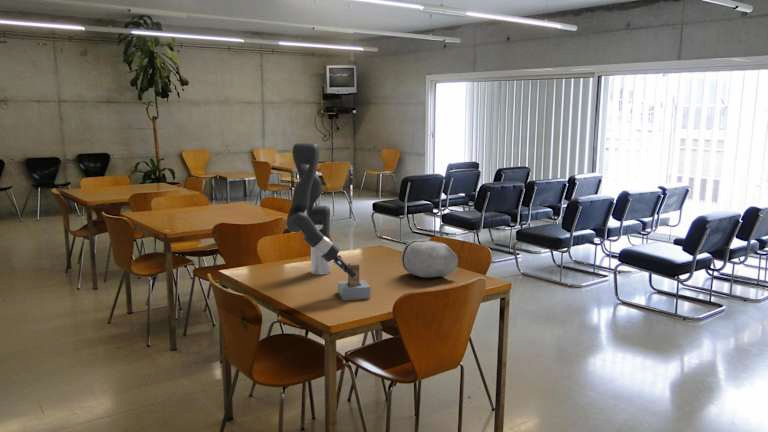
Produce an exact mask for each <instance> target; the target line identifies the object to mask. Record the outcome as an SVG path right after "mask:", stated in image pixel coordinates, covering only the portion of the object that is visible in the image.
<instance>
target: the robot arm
mask: <svg viewBox="0 0 768 432" xmlns="http://www.w3.org/2000/svg"><path fill="white" fill-rule="evenodd" d="M319 159H320V148H319V145H318V144H317V143H307V142H305V143H304V142H298V143H295V144H293V147H292V160H293V162H294V165H295V168H296V171H297V173H298V177H299V181H298V182H297V183H296V185H295V187H294V189H293V193H292V200H291V206H290V208H289V210H288V214H287V216H286V217H287V218H286V227H287V230H288V231H290V232H292V233H298V232H302V233H303V239H304V241H305V242H306V243H307V244H308V245H309V246H310V273H311V274H312V275H317V276H318V275H319V276H320V275H321V276H322V275H328V274H331V271H330V270H331V265H330V264H331V262H333V264H334V265H336V266H338V268H340V270H343V272H344V273H346V274H347V275H348V274H349V275H350V276H351V277H352V278H353V277H354V276H355V275H356V274H355V273H354V272H353V271H352V270H351V269H350V267H348V263H347V262H346V261H345V259H344V258H343V257H342V256H341V255H340V254H339V253H340V248H339V247H338V246H337V245H335V243H333V242H332V241H331V233H330V231H331V230H330V229H331V209H330V207H329V206H328V205H315V203H316V202H317V201H318V199H320V197H321V196H322V193H323V186H322V181H321V178H320V177H319V176H318V174H317V173H316V172H317V168H318V166H319V165H318V164H319V161H320V160H319ZM305 212H306V213H305ZM316 225H317V226H322V228H320V229H317V227H316Z"/></svg>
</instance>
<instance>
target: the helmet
mask: <svg viewBox="0 0 768 432" xmlns="http://www.w3.org/2000/svg"><path fill="white" fill-rule="evenodd" d="M458 263H459V258H458V255H457V254H456V253H455V252H454V251H453V249H451V247H450V246H448V245H447V244H445V242H440V241H435V240H428V239H415V240H410V241H409V242H408V243H407V244H406V245H405V246H404V248H403V250H402V253H401V264H402V268H403V269H404V270H405V272H407V273H408V274H411V275H413V276H415V277H416V276H417V277H421V278H425V279H426V278H435V277H439V278H440V277H441V278H443V277H444V278H445V277H448V276H450V275H452V274H454V273H455V272H456V271H457V269H458Z"/></svg>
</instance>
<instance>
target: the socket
mask: <svg viewBox="0 0 768 432" xmlns="http://www.w3.org/2000/svg"><path fill="white" fill-rule="evenodd" d="M337 293H338V295H339V296H340V298H341V301H353V300H368V299H369V300H370V299H371V286H370V285H369V284H368V282H367V281H366V279H359V286H348V280H337Z"/></svg>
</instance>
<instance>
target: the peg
mask: <svg viewBox="0 0 768 432" xmlns="http://www.w3.org/2000/svg"><path fill="white" fill-rule="evenodd" d="M347 265H348V267H350V269H351V270H352V271H353V272H354V273H355V274H356V275H355V276H354V277H353V278H352V277H351V276H350V275H349V274H348V273H347V281H348V286H359V280H360V264H359V262H348V263H347Z"/></svg>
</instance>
